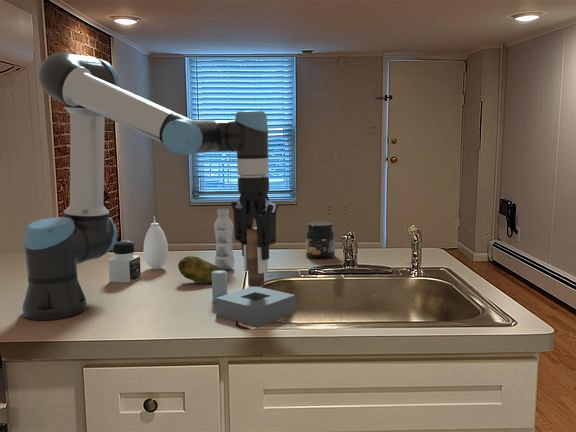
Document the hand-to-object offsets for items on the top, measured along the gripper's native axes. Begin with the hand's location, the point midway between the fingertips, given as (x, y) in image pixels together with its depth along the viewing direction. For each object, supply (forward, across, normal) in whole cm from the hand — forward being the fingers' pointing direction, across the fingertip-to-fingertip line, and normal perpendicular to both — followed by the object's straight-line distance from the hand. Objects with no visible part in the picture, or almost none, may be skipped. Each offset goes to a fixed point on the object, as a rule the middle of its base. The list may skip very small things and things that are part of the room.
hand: (255, 270), depth 143 cm
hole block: (+11, 0, 0) cm, 11 cm away
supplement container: (+11, +27, -63) cm, 69 cm away
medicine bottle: (+11, +55, 0) cm, 56 cm away
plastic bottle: (+11, +40, -28) cm, 50 cm away
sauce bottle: (+11, +59, -15) cm, 62 cm away
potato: (+11, +34, -12) cm, 38 cm away
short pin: (+11, +15, -2) cm, 19 cm away
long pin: (+3, 0, 0) cm, 3 cm away
